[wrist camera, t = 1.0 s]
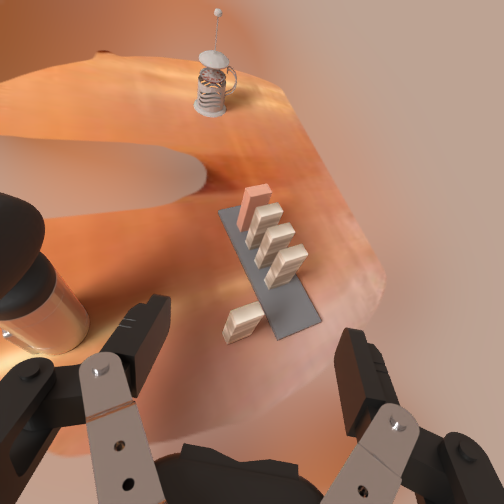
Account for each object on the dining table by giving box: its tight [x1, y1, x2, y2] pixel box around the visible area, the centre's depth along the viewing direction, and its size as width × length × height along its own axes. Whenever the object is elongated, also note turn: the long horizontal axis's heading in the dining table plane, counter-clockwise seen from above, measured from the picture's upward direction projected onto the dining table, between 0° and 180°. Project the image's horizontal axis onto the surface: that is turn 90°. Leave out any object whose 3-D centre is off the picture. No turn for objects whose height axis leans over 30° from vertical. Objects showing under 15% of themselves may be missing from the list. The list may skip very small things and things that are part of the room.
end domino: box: [237, 184, 272, 232], centre depth 65 cm, size 2×5×12 cm, turn 114°
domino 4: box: [264, 244, 308, 290], centre depth 59 cm, size 2×5×12 cm, turn 114°
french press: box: [194, 9, 237, 117], centre depth 82 cm, size 10×12×25 cm
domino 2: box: [245, 202, 283, 250], centre depth 63 cm, size 2×5×12 cm, turn 114°
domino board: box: [218, 205, 321, 341], centre depth 67 cm, size 10×32×1 cm, turn 24°
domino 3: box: [254, 222, 295, 269], centre depth 61 cm, size 2×5×12 cm, turn 114°
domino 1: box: [222, 301, 264, 345], centre depth 53 cm, size 2×5×12 cm, turn 114°
